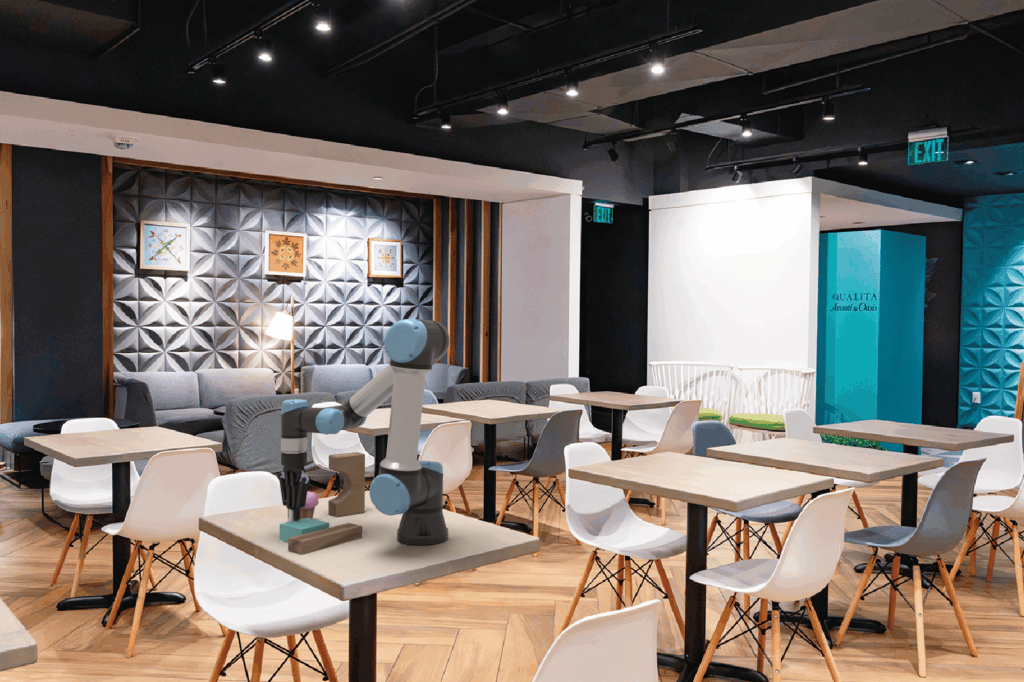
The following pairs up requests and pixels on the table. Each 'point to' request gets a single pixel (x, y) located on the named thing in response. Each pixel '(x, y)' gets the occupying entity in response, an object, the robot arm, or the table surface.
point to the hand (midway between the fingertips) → (293, 530)
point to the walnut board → (324, 538)
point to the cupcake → (309, 506)
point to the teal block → (301, 527)
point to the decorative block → (348, 484)
